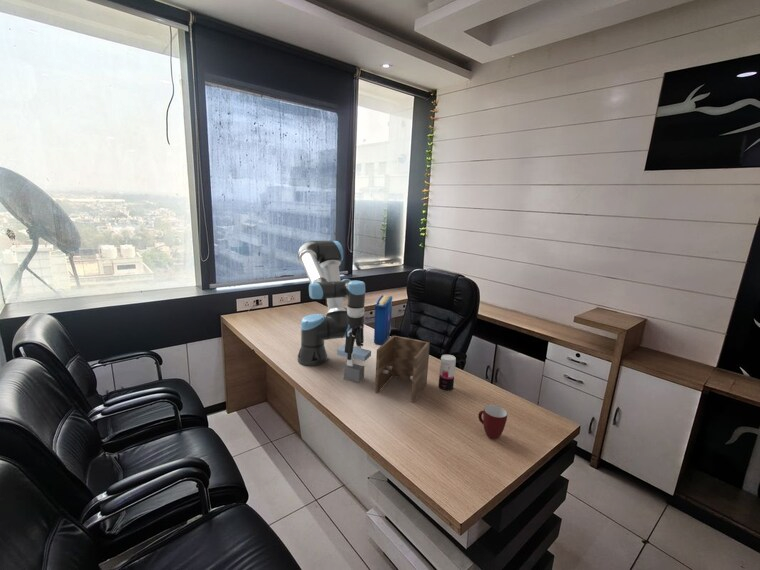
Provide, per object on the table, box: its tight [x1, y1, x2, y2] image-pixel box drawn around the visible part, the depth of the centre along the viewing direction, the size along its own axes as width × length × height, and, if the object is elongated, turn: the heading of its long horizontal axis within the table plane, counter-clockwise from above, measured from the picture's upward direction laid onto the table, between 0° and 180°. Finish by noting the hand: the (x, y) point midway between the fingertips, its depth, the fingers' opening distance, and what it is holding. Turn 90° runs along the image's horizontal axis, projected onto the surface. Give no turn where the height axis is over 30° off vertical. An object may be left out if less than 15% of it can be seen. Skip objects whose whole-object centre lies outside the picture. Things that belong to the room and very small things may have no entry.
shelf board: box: [336, 344, 372, 362], centre depth 165 cm, size 14×7×2 cm, turn 67°
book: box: [373, 294, 393, 345], centre depth 215 cm, size 22×7×25 cm, turn 168°
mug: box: [477, 404, 508, 440], centre depth 129 cm, size 11×8×10 cm
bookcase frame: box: [374, 335, 431, 404], centre depth 158 cm, size 18×19×20 cm
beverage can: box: [438, 354, 457, 392], centre depth 160 cm, size 6×7×15 cm
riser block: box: [343, 363, 365, 383], centre depth 166 cm, size 8×5×6 cm, turn 67°
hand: (353, 362), depth 166 cm, fingers closed on shelf board, 7 cm apart
